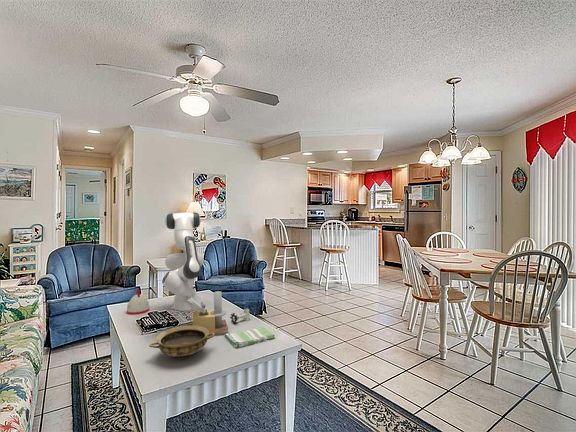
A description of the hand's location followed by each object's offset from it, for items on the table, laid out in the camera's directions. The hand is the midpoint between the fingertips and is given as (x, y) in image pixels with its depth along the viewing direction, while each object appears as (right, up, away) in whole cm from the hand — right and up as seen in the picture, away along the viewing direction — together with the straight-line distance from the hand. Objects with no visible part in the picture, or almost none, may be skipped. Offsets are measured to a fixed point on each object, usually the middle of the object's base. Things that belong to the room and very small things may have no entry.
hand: (204, 309), depth 179 cm
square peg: (-1, -10, 0) cm, 10 cm away
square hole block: (+3, -10, +1) cm, 11 cm away
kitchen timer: (-55, -12, +34) cm, 66 cm away
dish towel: (+27, -13, -11) cm, 32 cm away
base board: (+1, -12, +1) cm, 12 cm away
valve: (+19, -12, +14) cm, 26 cm away
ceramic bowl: (-2, -13, -29) cm, 32 cm away
